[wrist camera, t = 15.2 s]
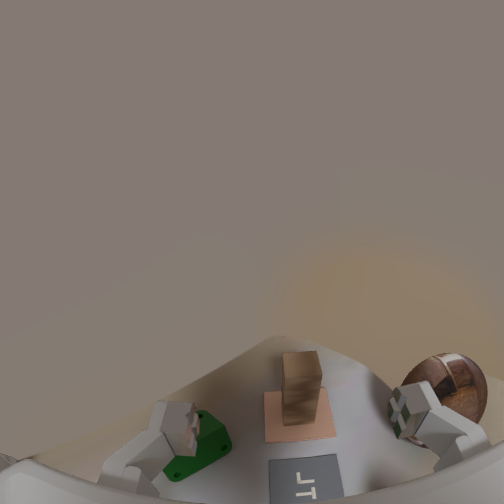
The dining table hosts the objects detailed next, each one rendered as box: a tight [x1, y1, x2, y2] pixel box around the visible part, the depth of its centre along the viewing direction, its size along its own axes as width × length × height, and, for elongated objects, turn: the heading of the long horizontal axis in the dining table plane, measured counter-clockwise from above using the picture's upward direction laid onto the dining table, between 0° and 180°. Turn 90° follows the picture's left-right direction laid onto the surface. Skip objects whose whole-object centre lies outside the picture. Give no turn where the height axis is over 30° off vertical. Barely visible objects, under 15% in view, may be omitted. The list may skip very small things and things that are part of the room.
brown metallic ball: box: [401, 353, 488, 449], centre depth 33 cm, size 15×15×15 cm
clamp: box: [163, 410, 232, 482], centre depth 36 cm, size 12×6×9 cm, turn 125°
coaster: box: [264, 387, 336, 443], centre depth 44 cm, size 11×11×1 cm
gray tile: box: [269, 454, 344, 504], centre depth 31 cm, size 10×10×1 cm
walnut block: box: [281, 351, 322, 426], centre depth 41 cm, size 5×5×12 cm
